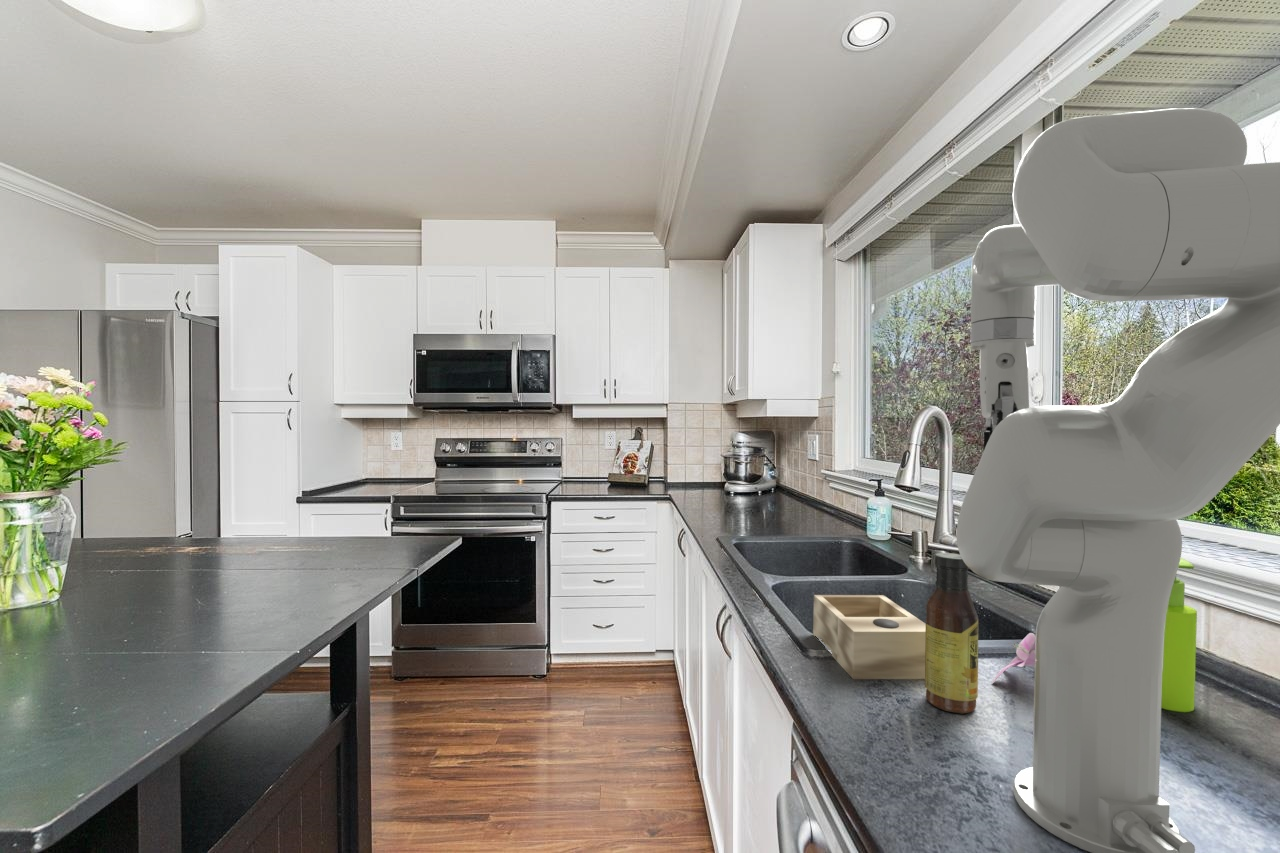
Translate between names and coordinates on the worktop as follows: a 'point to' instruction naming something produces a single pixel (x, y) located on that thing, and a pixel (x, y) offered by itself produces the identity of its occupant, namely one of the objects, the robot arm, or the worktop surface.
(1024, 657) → the lily
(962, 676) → the sauce bottle
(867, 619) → the caddy
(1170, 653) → the soap dispenser
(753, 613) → the worktop surface
